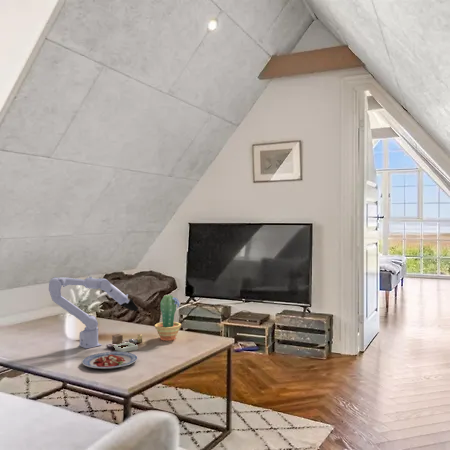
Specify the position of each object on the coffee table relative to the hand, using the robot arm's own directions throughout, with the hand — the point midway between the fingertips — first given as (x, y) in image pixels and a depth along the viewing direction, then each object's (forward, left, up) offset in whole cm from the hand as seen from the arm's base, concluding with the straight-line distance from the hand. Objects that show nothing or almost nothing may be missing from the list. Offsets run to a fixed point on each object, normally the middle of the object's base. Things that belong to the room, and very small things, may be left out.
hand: (135, 309), depth 266 cm
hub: (-5, -3, -18) cm, 19 cm away
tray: (-13, -10, -18) cm, 24 cm away
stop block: (-12, -1, -18) cm, 22 cm away
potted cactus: (+17, -7, -18) cm, 26 cm away
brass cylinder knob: (-3, -5, -16) cm, 18 cm away
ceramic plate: (-31, -25, -18) cm, 44 cm away
